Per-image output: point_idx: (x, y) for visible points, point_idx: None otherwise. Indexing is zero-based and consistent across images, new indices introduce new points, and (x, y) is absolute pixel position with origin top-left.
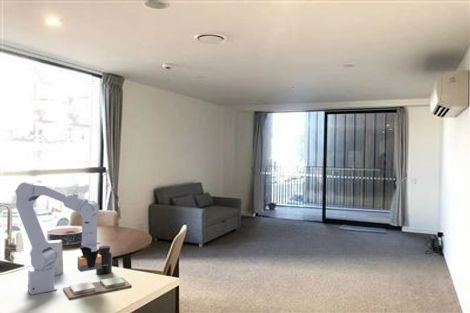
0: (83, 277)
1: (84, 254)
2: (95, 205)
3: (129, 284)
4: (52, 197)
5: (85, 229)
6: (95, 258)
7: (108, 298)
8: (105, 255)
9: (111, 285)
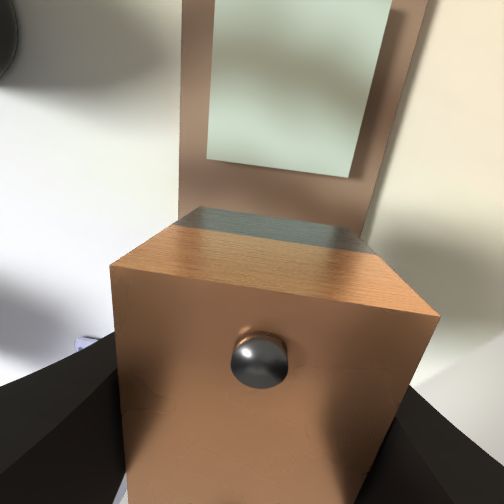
0: (22, 184)
1: (110, 490)
2: None
3: None
4: None
5: None
6: (452, 440)
7: (471, 216)
8: None
9: (357, 131)
